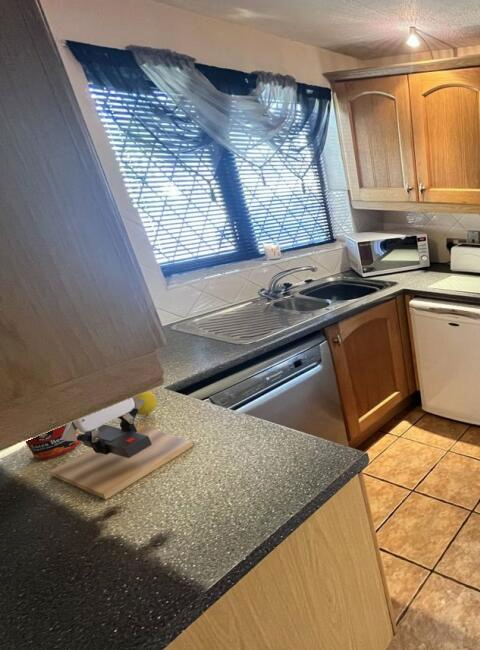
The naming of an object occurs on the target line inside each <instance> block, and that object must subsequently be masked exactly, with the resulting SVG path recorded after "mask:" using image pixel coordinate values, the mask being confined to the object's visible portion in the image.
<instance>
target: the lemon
mask: <svg viewBox="0 0 480 650" xmlns="http://www.w3.org/2000/svg"><path fill="white" fill-rule="evenodd" d="M147 391H148V392H146V393H143V394H141V395H138V396H136V397H135V398H138V399H141V400H144V403H143V405H142V406H141V408H140V409H139V410H138V413H137V415H139V416H148V415H150V414H151V413H152V412H153V411H154V410H156V407H157V404H158V402H157V397H156V396H155V394H154V393H152V391H150V390H147Z"/></svg>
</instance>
